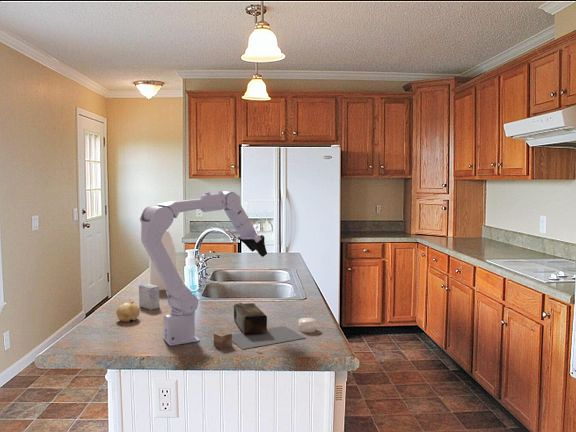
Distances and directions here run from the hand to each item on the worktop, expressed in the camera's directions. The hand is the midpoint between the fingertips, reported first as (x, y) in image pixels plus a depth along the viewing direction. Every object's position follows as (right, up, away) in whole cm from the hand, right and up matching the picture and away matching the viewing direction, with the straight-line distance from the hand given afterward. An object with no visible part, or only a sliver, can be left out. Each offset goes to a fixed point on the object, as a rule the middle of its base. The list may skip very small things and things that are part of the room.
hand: (259, 252), depth 178 cm
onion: (-47, -25, +5) cm, 54 cm away
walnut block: (-10, -27, -21) cm, 36 cm away
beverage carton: (-3, -26, -3) cm, 26 cm away
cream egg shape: (+17, -26, -6) cm, 31 cm away
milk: (-48, -20, +57) cm, 77 cm away
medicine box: (-45, -23, +22) cm, 55 cm away
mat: (+3, -27, -13) cm, 30 cm away
